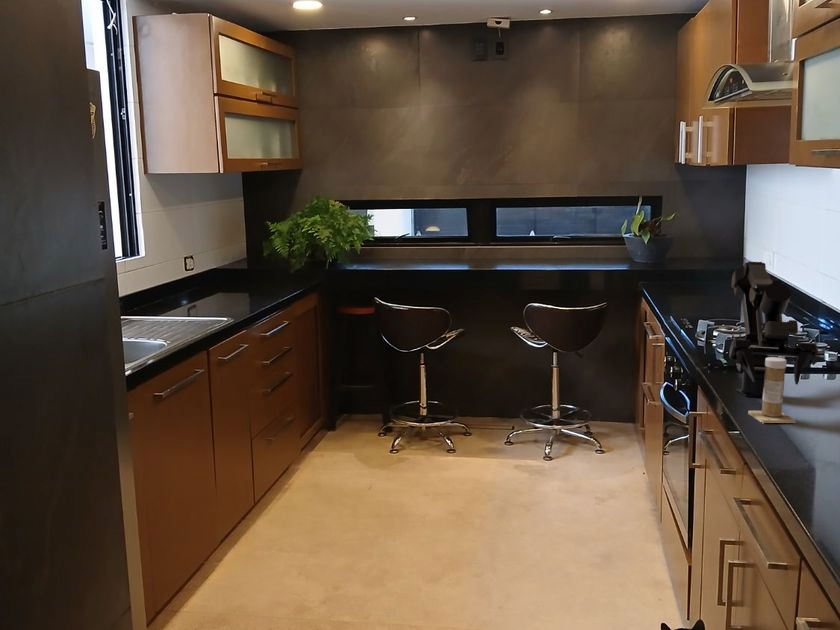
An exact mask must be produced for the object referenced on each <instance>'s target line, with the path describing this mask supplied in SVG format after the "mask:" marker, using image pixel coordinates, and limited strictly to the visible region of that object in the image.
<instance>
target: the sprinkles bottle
mask: <svg viewBox="0 0 840 630" xmlns="http://www.w3.org/2000/svg"><path fill="white" fill-rule="evenodd" d="M786 369H787V359H785V358H784V357H783V358H782V357H780V356H778V357H767V358H766V359H765V379H764V388H763V397H762V405H761V410H760V411H761V413H762V414H763V415H766V416H771V417H779V416H781V415H782V413H783V412H782V408H783V401H784V391H785V390H784V389H785V373H786Z"/></svg>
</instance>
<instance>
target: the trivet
mask: <svg viewBox="0 0 840 630" xmlns="http://www.w3.org/2000/svg"><path fill="white" fill-rule="evenodd" d="M761 411H762V410H748V413H747V415H749V416H751V417H752V418H754V419H755V420H757V421H758V422H760V423H761V422H762V423H761V424H763V425H764V423H795V424H796V421H797V420H796V419H794V418H792V417H790V416H789V415H788V414H786V413H784V412H782V415H781V416H779V417H771V416H766V415H763V414H762V413H761Z"/></svg>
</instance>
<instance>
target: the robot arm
mask: <svg viewBox="0 0 840 630" xmlns="http://www.w3.org/2000/svg"><path fill="white" fill-rule="evenodd" d="M766 267H767V266H766V263H765V262H762V261H747V262H744V265H743V266H741V267H739V268H736V269H735V270H734V272H733V273H732V276H731V288H732V289H733V291H734V292H733V293H734V296H735V297H736V298H737V299H738V300H739V301H740V302H741V305H742V312H743V320H744V321H743V322H744V330H745V339H742V338H741V339H740V338H734V339H733V340H732V341H731V344H730V348H729V355H728V357H729V360H730V361H731V362H733V361H735V364H736V369H737V370H738V371H739V372H740V373H741V372H742V383H741V388H736V391H737V393H740V394H741V395H743V396H745V397H753V398H754V397H755V398H756V397H758V398H759V397H760V398H761V397H762V398H763V388H764V379H765V359H766V358H767V357H786V358H787V357H789V358H790V357H792V358H793V359H794V361H793V362H794V364H793V377H794V382H795V383H794V384H795V385H796V386H797V385H799V382H800V379H801V376H802V375H801V374H802V370H803V369H804V368H807V367H809V366H811V365H813V364H814V362H815V361H816V358H817V355H818V353H819V348H818V345H817V344H816V343H815V342H804V341H803V342H800V341H799V342H798V343H797V346H796V347H786V345H787V344H788V343H789V337H790V336H796V335H797V334H798V332H799V326H798V324H799V323H798V320H793V319H789V320H788V321H783V314H785V312H786V309H787V307H788V305H789V301H790V299H791V296H792V290H790V288H789V287H788V286H787V285H786V284H783V283H782V281H781V279H771V278H770V275H769V273H768V272H767V268H766Z"/></svg>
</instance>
